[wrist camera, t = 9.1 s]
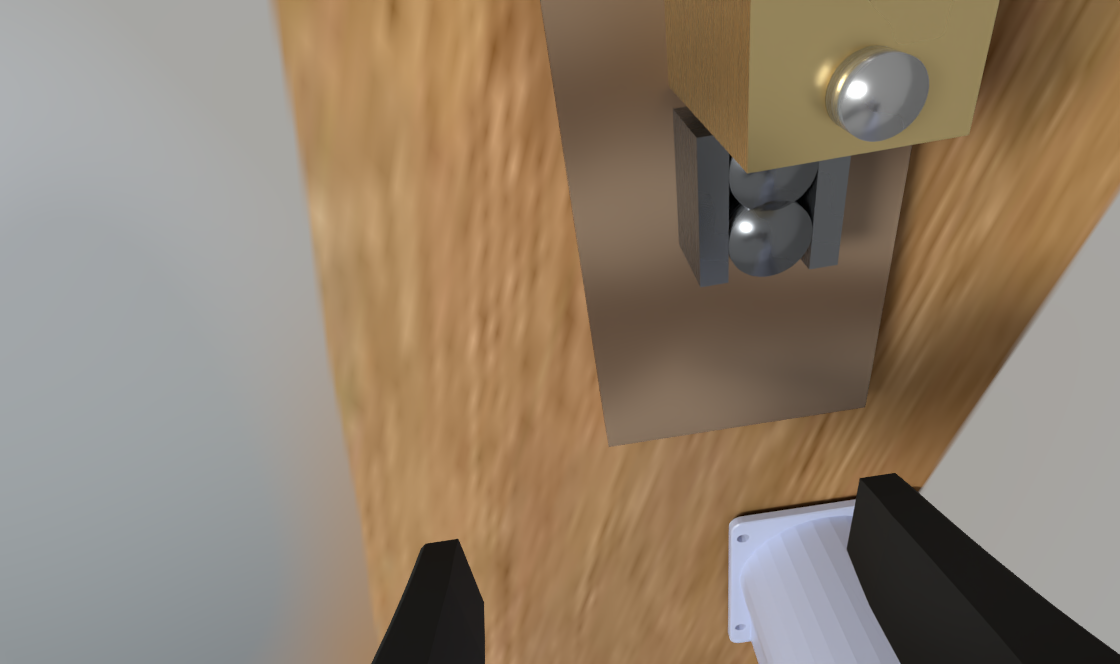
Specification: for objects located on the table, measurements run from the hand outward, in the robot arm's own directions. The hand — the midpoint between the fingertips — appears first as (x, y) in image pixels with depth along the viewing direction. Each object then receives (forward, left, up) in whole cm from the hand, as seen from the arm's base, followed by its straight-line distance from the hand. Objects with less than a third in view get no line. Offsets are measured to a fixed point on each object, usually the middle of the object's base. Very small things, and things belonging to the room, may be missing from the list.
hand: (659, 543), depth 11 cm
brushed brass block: (+8, -4, -8) cm, 12 cm away
